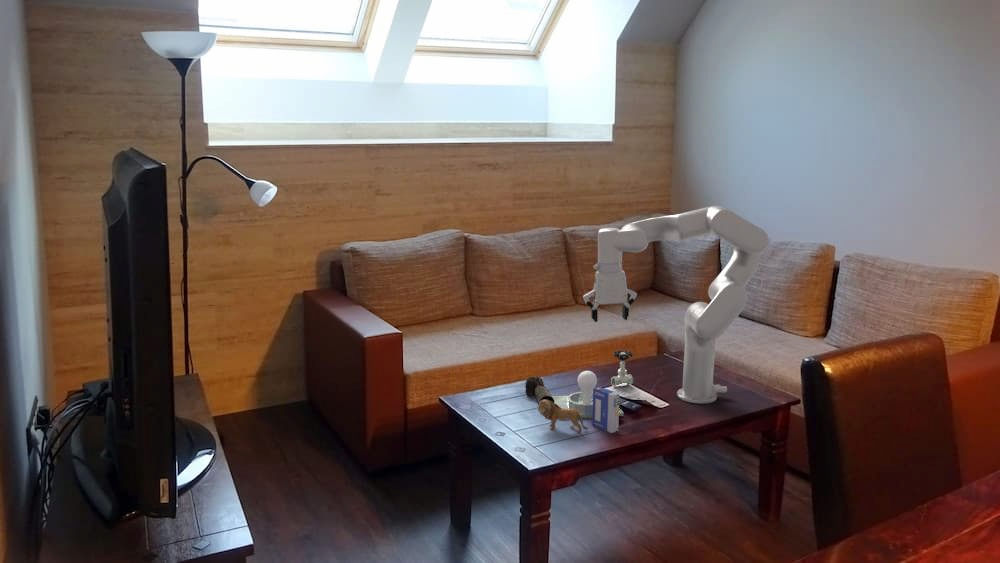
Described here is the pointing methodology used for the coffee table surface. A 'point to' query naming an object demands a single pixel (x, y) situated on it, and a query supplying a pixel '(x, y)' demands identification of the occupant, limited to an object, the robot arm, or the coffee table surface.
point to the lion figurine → (559, 414)
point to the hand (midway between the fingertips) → (610, 319)
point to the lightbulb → (587, 385)
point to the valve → (622, 369)
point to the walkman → (605, 409)
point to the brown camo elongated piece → (537, 389)
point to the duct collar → (577, 404)
